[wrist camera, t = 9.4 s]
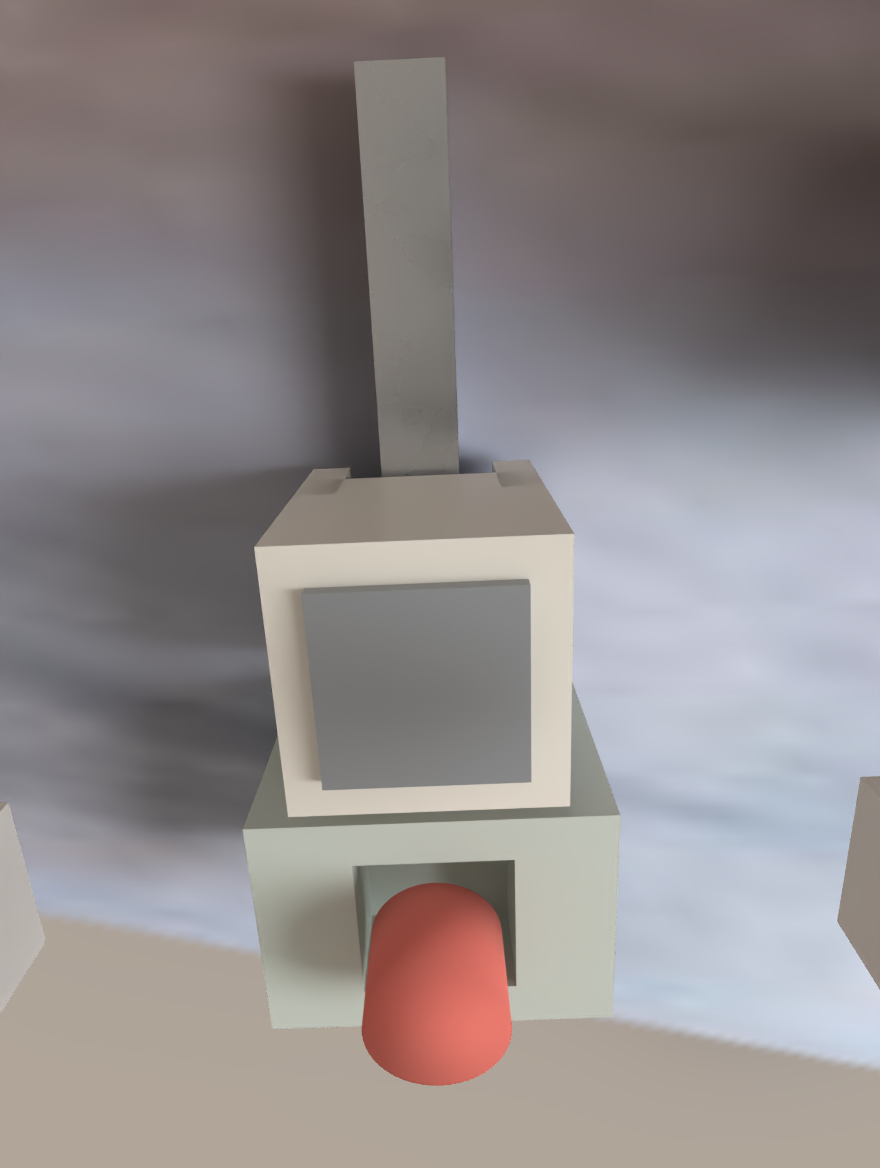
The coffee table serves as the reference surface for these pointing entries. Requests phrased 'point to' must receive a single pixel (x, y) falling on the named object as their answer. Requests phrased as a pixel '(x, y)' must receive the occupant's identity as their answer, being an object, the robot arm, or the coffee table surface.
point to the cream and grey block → (420, 642)
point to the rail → (409, 261)
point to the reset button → (436, 986)
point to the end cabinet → (439, 855)
